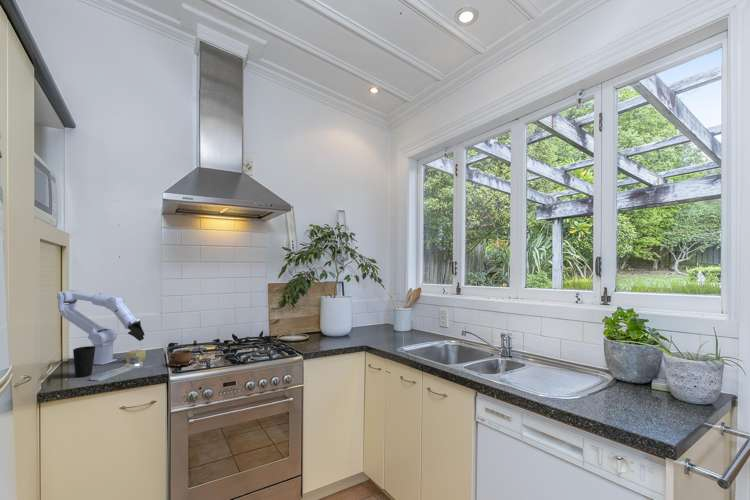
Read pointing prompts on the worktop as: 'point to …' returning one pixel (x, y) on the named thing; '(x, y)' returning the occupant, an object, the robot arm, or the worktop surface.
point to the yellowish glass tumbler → (136, 353)
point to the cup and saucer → (181, 358)
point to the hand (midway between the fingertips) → (142, 338)
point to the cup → (83, 361)
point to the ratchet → (119, 369)
